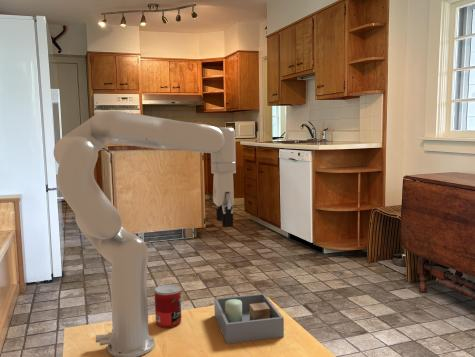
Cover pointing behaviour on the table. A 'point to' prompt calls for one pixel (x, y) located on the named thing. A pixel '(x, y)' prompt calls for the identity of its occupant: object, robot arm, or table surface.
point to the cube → (259, 311)
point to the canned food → (168, 305)
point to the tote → (247, 327)
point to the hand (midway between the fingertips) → (224, 223)
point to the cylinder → (233, 310)
